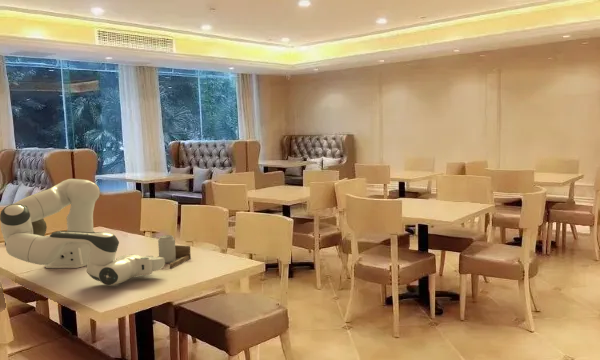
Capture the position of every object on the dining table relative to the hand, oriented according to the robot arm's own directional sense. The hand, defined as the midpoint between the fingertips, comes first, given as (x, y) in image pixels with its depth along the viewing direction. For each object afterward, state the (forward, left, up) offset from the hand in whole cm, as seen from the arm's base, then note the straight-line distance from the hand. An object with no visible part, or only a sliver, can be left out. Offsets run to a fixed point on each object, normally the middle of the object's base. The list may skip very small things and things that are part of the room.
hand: (150, 257), depth 219 cm
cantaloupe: (-74, +83, -6) cm, 112 cm away
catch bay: (+6, +14, -6) cm, 16 cm away
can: (+6, +15, -6) cm, 17 cm away
